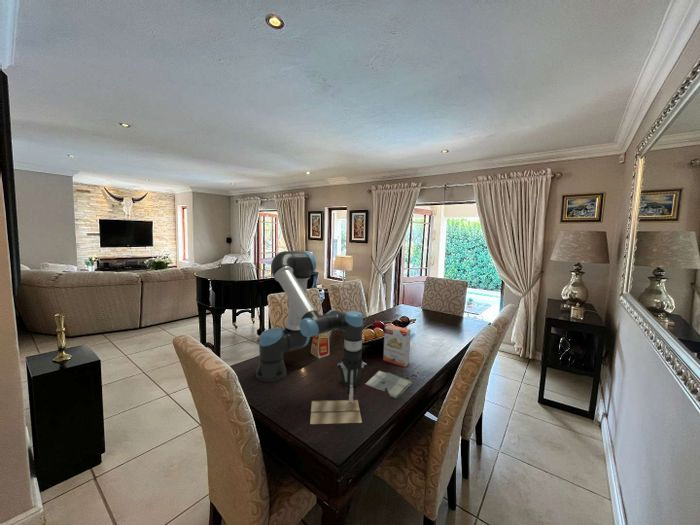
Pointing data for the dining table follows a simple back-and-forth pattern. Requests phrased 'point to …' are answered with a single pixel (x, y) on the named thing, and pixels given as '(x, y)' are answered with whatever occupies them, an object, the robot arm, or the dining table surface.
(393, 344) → the cracker box
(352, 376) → the coffee cup
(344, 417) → the laid plank
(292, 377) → the dining table surface
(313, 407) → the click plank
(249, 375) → the dining table surface
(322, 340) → the milk carton
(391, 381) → the dish towel
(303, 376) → the dining table surface
